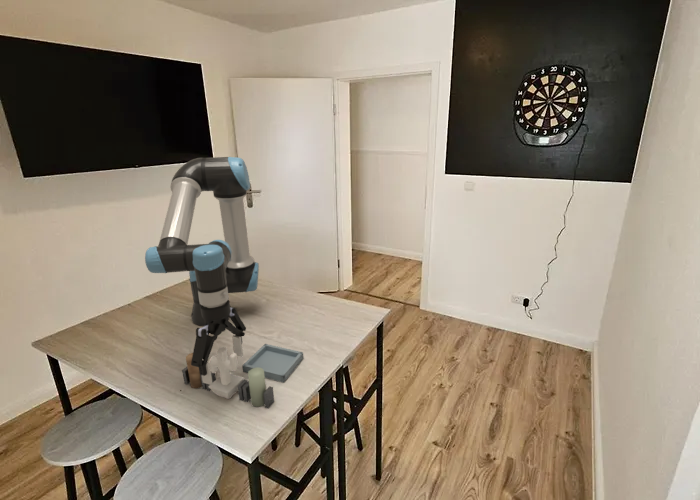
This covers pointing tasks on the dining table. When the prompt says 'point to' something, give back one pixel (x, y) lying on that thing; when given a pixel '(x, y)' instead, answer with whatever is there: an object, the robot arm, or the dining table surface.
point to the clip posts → (242, 389)
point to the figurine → (225, 373)
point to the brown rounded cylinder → (193, 373)
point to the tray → (274, 362)
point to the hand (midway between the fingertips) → (224, 368)
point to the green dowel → (257, 386)
